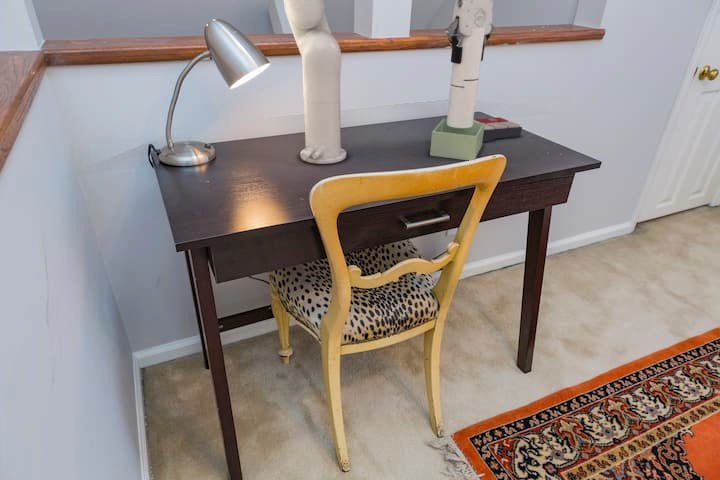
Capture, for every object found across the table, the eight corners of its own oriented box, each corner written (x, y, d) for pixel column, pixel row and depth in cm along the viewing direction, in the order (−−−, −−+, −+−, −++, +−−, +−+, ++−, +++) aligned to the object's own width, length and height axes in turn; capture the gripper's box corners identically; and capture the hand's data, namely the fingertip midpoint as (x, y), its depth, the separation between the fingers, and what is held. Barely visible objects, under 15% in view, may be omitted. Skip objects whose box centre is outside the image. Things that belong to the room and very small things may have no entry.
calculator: (523, 124, 150) (484, 127, 144) (520, 138, 152) (482, 142, 146) (499, 116, 159) (462, 118, 152) (497, 129, 161) (460, 132, 154)
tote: (473, 161, 132) (477, 136, 128) (429, 155, 135) (432, 131, 132) (481, 145, 143) (484, 123, 140) (441, 140, 147) (443, 118, 144)
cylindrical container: (474, 128, 132) (487, 29, 120) (448, 127, 133) (458, 28, 120) (470, 121, 139) (482, 26, 126) (445, 120, 139) (454, 25, 127)
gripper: (460, -14, 112) (452, 66, 120) (511, -15, 120) (500, 61, 129) (438, -15, 117) (432, 62, 126) (488, -16, 126) (479, 57, 134)
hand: (466, 61), depth 127 cm, fingers closed on cylindrical container, 7 cm apart
